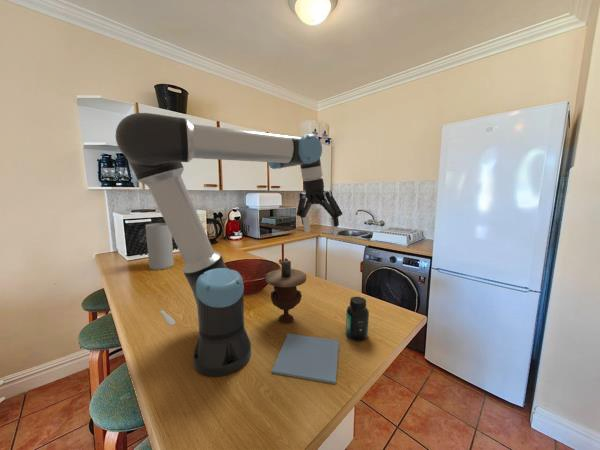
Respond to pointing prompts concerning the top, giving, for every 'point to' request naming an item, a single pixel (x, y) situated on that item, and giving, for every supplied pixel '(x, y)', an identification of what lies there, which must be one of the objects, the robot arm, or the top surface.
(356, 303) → the supplement bottle
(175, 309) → the top surface
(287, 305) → the ice cream bowl
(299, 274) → the walnut lid
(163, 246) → the cylinder vase
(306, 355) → the slate mat
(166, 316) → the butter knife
